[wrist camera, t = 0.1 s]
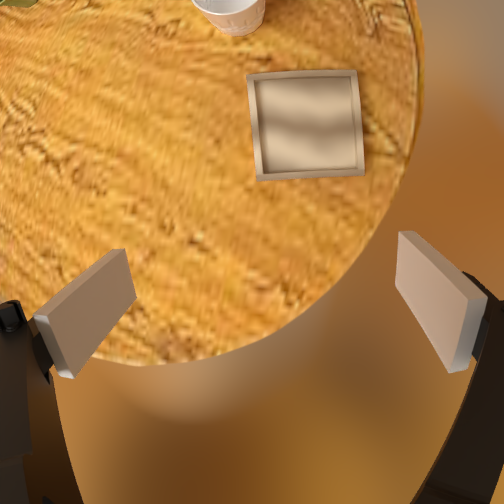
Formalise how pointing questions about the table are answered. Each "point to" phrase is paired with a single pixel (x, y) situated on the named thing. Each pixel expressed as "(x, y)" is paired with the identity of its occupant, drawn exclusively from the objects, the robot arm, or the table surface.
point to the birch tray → (306, 124)
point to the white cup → (233, 15)
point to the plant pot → (17, 3)
